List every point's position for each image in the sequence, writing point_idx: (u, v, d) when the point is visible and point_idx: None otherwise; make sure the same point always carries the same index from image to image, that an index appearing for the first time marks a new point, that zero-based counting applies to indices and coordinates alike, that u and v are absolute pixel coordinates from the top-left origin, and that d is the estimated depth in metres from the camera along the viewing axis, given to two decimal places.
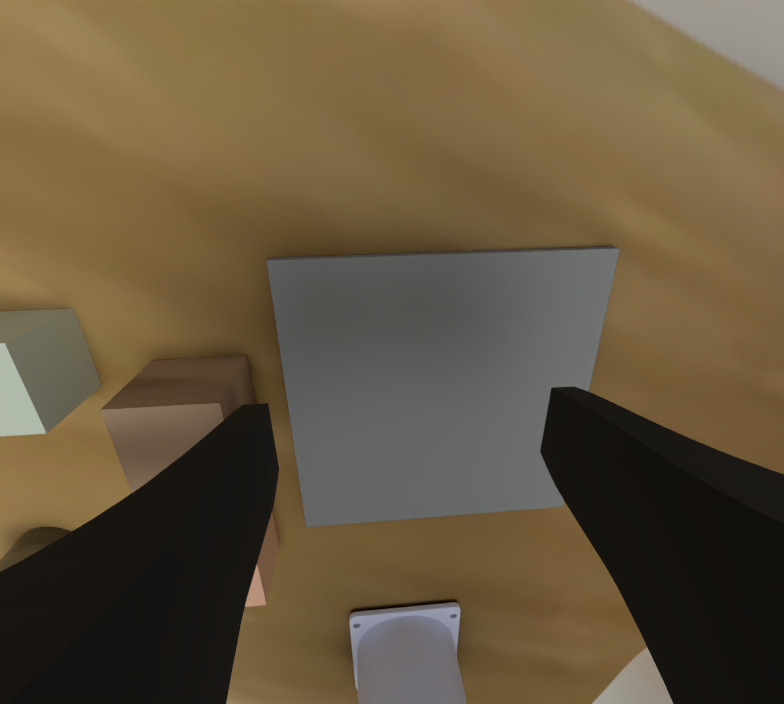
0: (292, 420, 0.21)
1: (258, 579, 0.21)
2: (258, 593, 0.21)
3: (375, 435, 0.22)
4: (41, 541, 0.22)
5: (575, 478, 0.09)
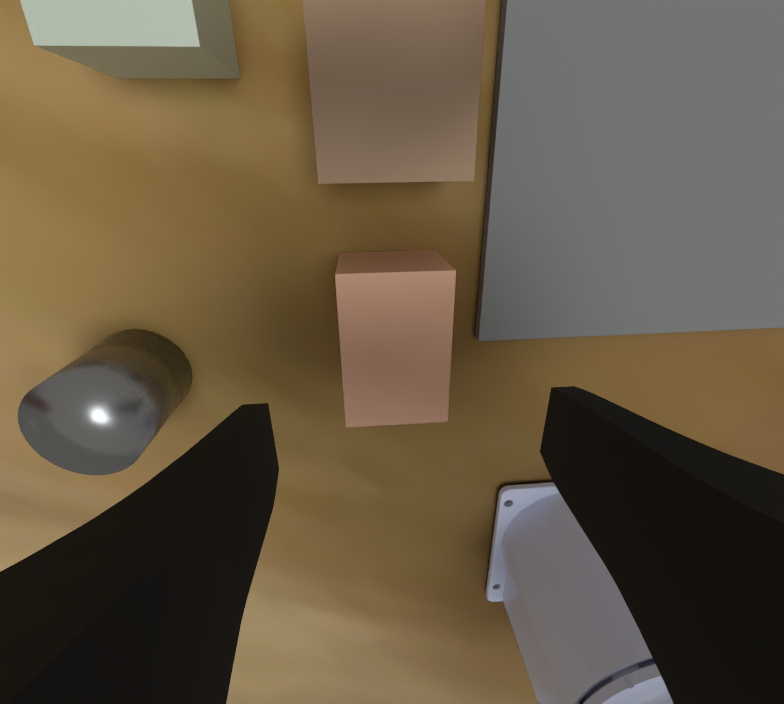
0: (497, 149, 0.15)
1: (446, 375, 0.15)
2: (442, 400, 0.15)
3: (601, 185, 0.16)
4: (134, 339, 0.16)
5: (575, 478, 0.09)
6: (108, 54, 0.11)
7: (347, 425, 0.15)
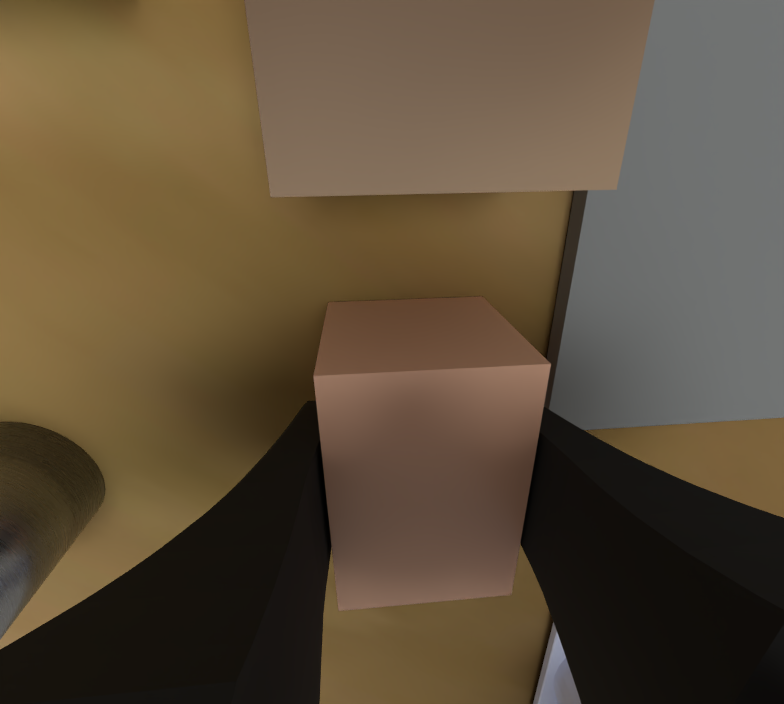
0: None
1: (516, 531, 0.08)
2: (504, 566, 0.09)
3: (767, 194, 0.09)
4: None
5: None
6: None
7: (341, 607, 0.09)
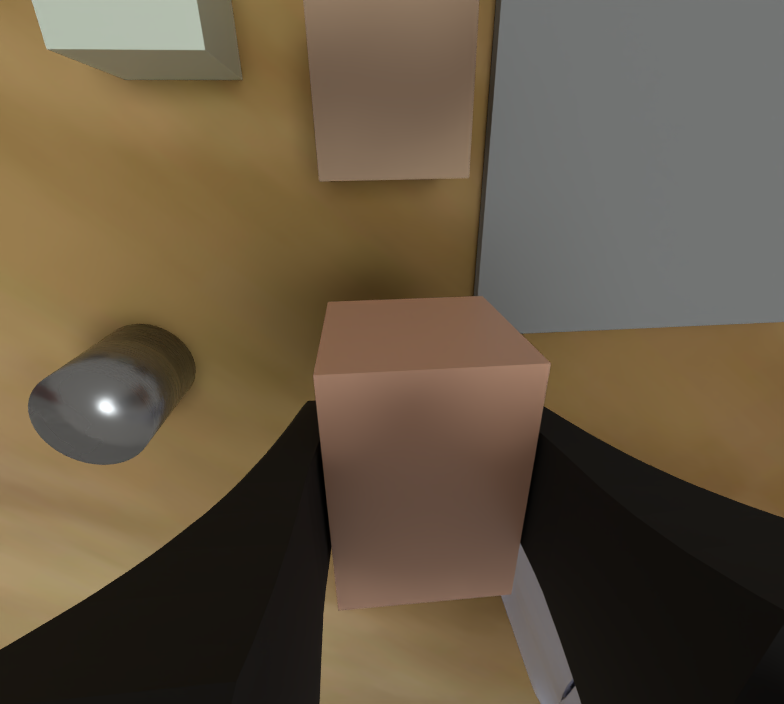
0: (492, 148, 0.15)
1: (515, 530, 0.08)
2: (504, 566, 0.09)
3: (593, 184, 0.16)
4: (139, 333, 0.17)
5: None
6: (117, 57, 0.11)
7: (341, 607, 0.09)
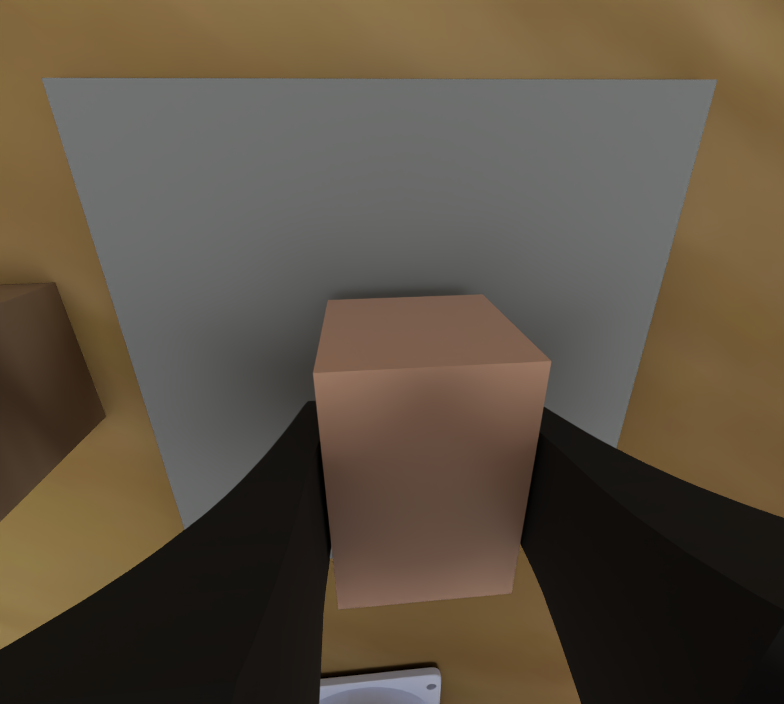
0: (147, 399, 0.12)
1: (515, 530, 0.08)
2: (504, 564, 0.09)
3: None
4: None
5: None
6: None
7: (340, 606, 0.09)
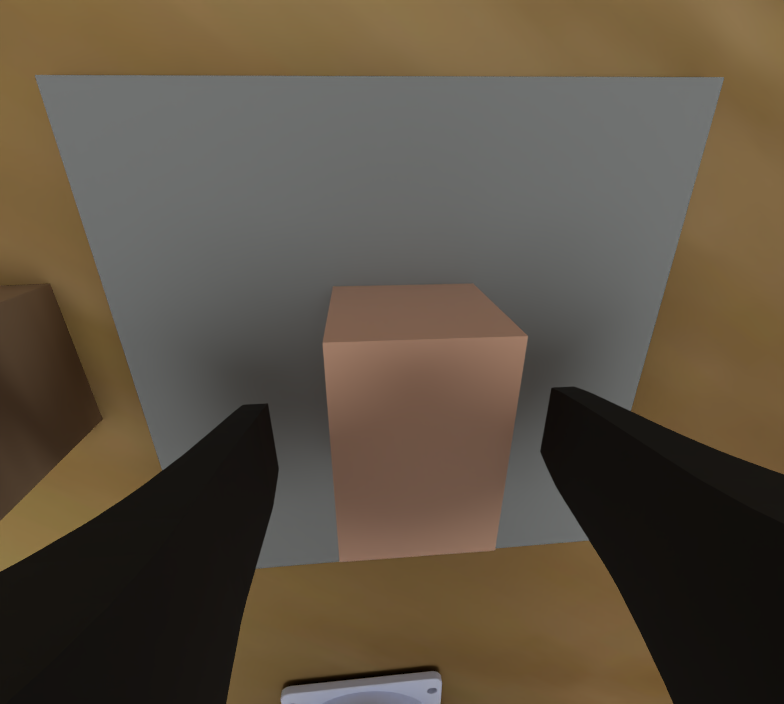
0: (144, 402, 0.12)
1: (498, 490, 0.09)
2: (488, 522, 0.10)
3: (291, 428, 0.13)
4: None
5: (575, 478, 0.09)
6: None
7: (341, 559, 0.10)
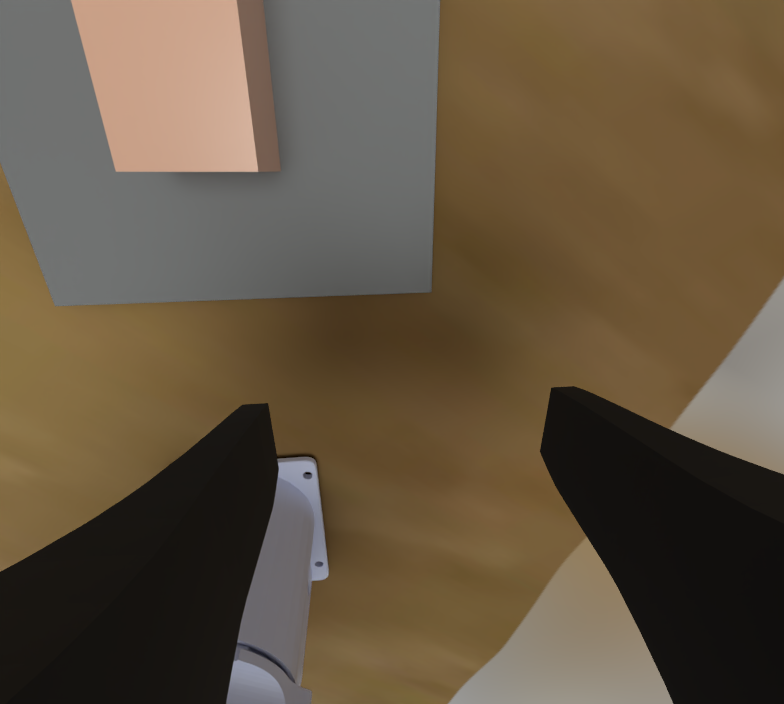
0: None
1: (242, 89, 0.11)
2: (243, 132, 0.11)
3: None
4: None
5: (575, 478, 0.09)
6: None
7: (117, 168, 0.11)
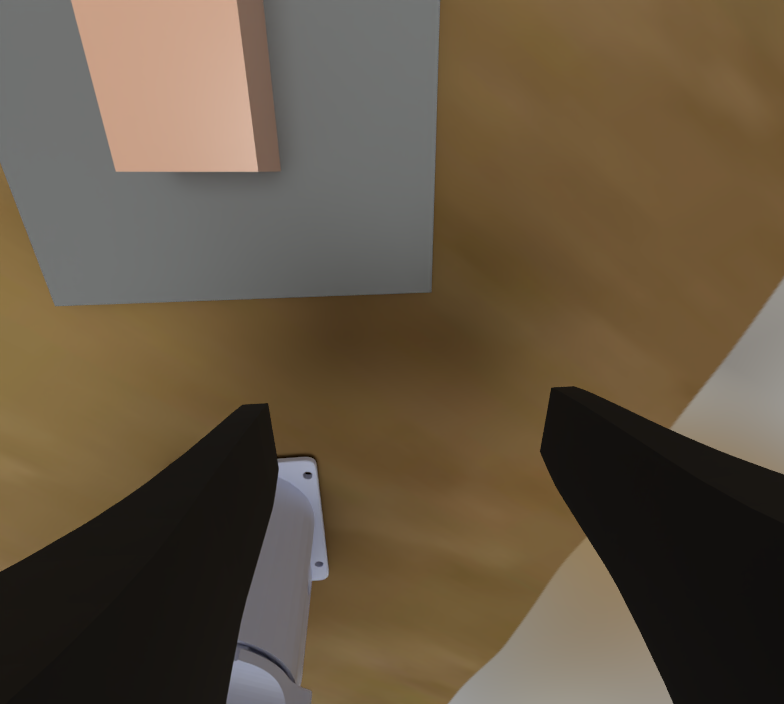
0: None
1: (242, 89, 0.11)
2: (243, 132, 0.11)
3: None
4: None
5: (575, 478, 0.09)
6: None
7: (117, 168, 0.11)
